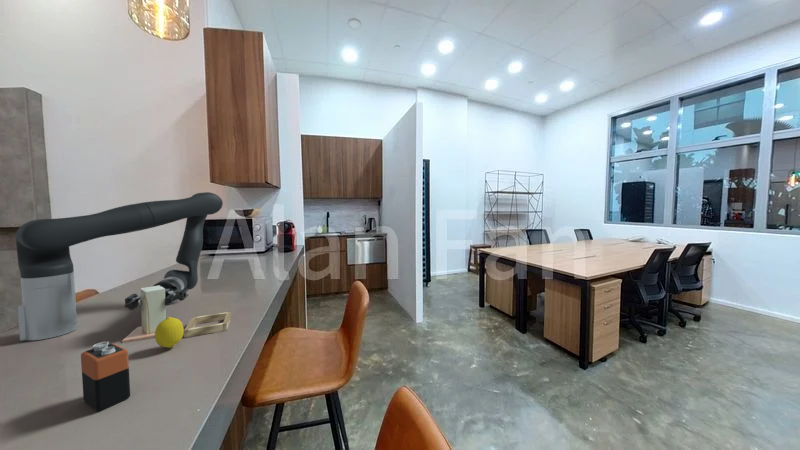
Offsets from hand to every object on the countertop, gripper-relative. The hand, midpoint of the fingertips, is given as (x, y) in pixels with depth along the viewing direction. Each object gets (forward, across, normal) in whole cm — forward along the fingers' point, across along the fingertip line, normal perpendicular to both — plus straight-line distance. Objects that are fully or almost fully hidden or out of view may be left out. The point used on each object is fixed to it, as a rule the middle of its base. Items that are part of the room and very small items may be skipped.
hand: (149, 304), depth 75 cm
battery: (+32, +3, +9) cm, 33 cm away
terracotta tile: (-2, 0, +9) cm, 9 cm away
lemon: (+13, +7, +9) cm, 17 cm away
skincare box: (-2, 0, +8) cm, 9 cm away
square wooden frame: (+2, +14, +9) cm, 17 cm away
